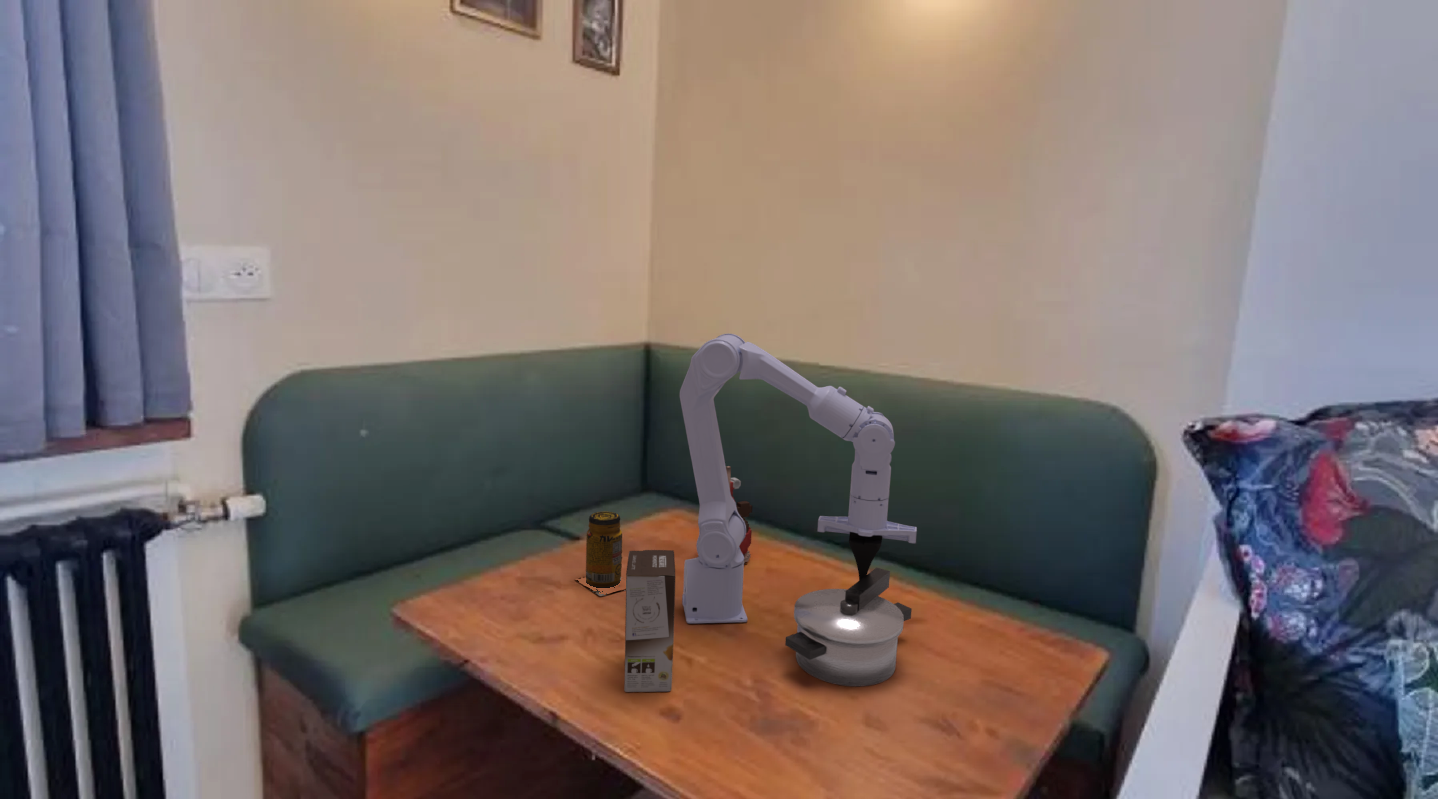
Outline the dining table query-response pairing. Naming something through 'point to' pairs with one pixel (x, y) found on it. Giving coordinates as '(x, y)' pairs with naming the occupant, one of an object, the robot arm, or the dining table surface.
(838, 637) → the lid
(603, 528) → the condiment
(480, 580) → the dining table surface
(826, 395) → the robot arm
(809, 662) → the cooker pot
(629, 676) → the coffee box
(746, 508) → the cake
